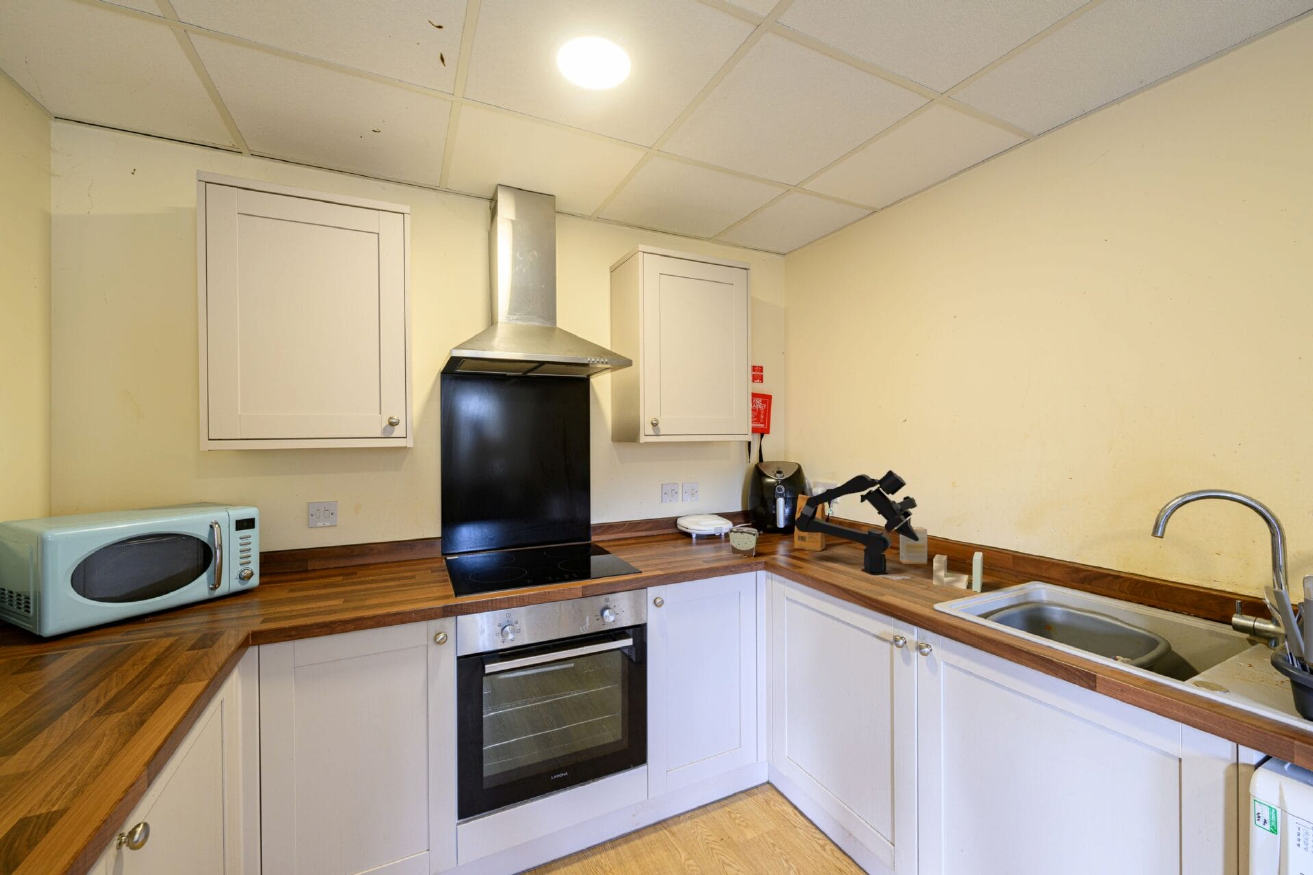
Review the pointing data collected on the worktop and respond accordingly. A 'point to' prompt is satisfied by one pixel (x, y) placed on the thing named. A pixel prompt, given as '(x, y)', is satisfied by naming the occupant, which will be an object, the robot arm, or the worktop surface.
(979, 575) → the board
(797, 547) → the coffee package
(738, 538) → the food container
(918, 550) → the supplement box
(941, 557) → the stepped block
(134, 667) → the worktop surface
